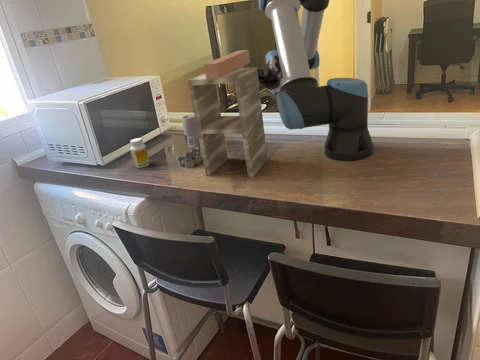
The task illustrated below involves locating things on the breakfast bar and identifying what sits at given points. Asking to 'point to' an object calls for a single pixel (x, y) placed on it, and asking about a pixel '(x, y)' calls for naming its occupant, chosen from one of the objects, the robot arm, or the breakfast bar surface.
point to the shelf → (229, 119)
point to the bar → (226, 64)
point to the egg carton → (190, 158)
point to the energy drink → (190, 131)
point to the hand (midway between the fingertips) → (252, 61)
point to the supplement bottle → (139, 153)
